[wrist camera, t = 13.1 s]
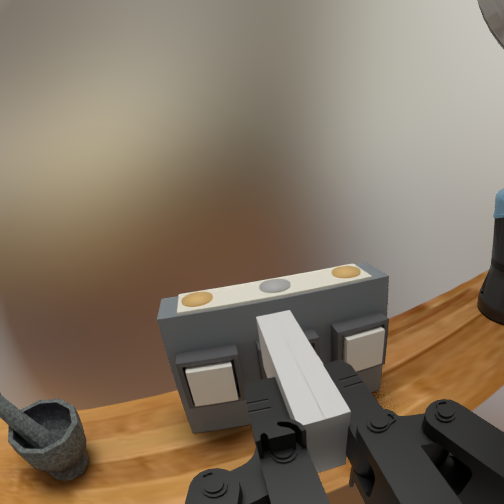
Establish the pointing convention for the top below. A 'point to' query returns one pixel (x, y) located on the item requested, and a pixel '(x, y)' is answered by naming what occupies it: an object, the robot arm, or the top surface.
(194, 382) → the button
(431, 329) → the top surface
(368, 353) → the button
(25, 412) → the mortar and pestle
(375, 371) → the button panel
